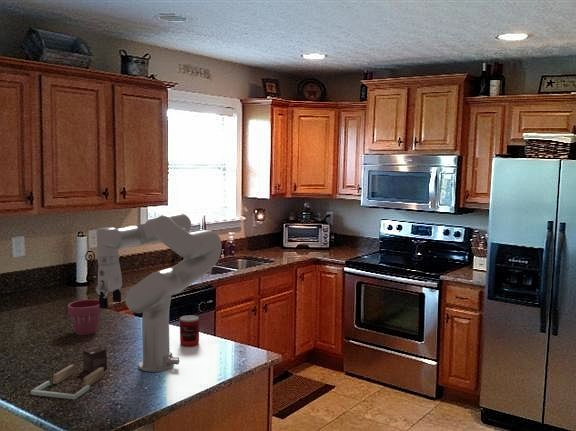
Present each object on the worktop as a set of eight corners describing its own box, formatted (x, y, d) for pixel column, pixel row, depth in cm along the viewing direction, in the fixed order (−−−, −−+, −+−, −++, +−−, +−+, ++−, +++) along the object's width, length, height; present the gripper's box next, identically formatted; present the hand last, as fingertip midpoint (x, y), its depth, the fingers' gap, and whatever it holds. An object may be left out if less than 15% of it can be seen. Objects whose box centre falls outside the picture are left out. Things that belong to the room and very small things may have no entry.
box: (98, 365, 209) (97, 345, 209) (107, 368, 206) (106, 349, 205) (83, 369, 205) (82, 349, 204) (92, 373, 201) (91, 353, 200)
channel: (104, 375, 199) (103, 367, 199) (87, 387, 189) (87, 378, 189) (71, 372, 202) (70, 364, 201) (53, 383, 192) (53, 374, 192)
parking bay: (90, 388, 188) (90, 385, 188) (74, 399, 180) (74, 395, 179) (47, 384, 191) (47, 380, 191) (30, 394, 183) (30, 390, 183)
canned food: (191, 339, 239) (191, 313, 237) (203, 344, 233) (202, 317, 232) (176, 343, 233) (175, 317, 232) (187, 348, 228) (187, 321, 226)
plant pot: (61, 334, 244) (60, 305, 243) (84, 325, 257) (83, 297, 256) (88, 338, 239) (87, 308, 238) (110, 329, 252) (109, 300, 251)
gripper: (105, 264, 205) (107, 311, 206) (128, 256, 221) (130, 299, 223) (86, 264, 206) (89, 310, 208) (111, 256, 223) (113, 299, 225)
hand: (110, 305), depth 215 cm, fingers open, 9 cm apart
